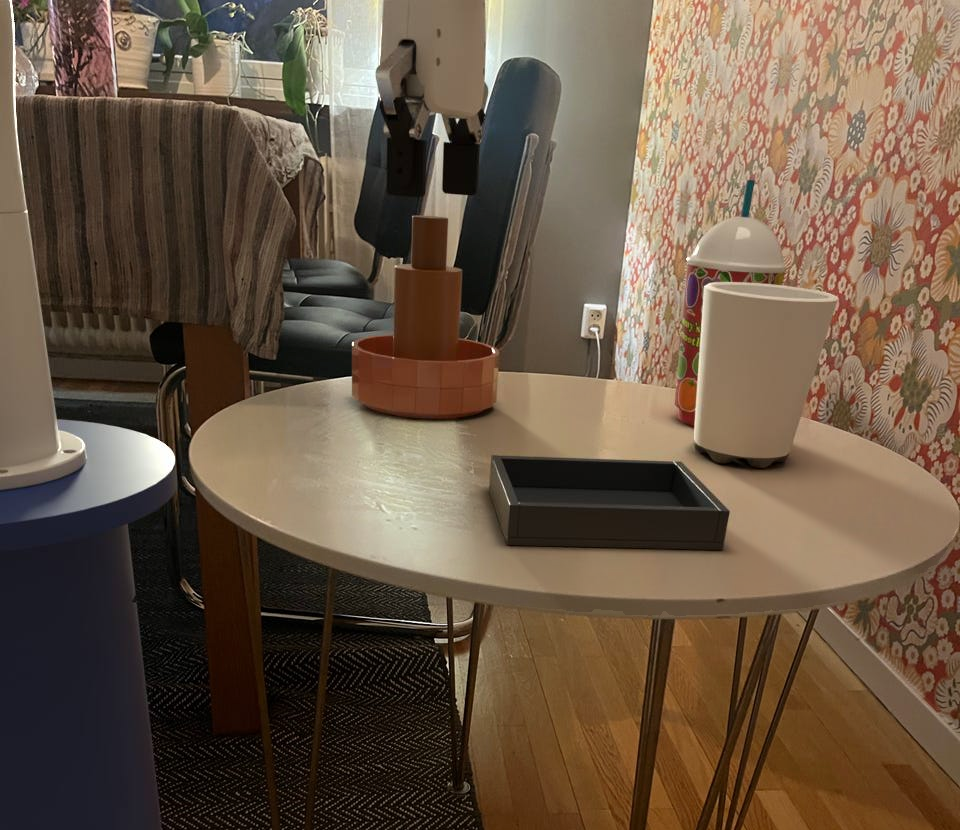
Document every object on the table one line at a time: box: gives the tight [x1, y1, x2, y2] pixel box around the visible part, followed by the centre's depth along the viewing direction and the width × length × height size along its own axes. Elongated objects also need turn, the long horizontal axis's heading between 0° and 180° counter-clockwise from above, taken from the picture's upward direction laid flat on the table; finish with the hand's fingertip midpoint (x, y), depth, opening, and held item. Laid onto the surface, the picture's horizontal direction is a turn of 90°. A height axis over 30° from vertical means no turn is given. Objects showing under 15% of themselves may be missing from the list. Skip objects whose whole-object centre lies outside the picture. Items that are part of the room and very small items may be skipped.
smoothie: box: [674, 179, 788, 427], centre depth 82 cm, size 8×8×20 cm
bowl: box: [351, 334, 501, 420], centre depth 85 cm, size 13×13×5 cm
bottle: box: [392, 215, 463, 361], centre depth 83 cm, size 6×6×15 cm
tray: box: [488, 454, 731, 551], centre depth 60 cm, size 13×10×2 cm
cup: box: [693, 282, 839, 469], centre depth 74 cm, size 10×10×13 cm
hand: (434, 195), depth 79 cm, fingers open, 9 cm apart
